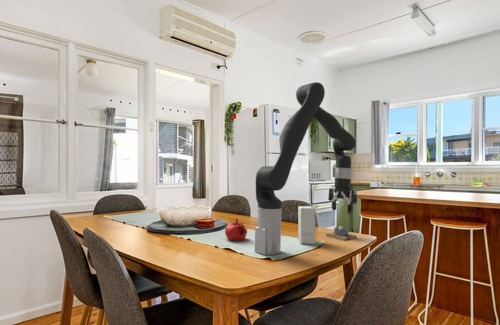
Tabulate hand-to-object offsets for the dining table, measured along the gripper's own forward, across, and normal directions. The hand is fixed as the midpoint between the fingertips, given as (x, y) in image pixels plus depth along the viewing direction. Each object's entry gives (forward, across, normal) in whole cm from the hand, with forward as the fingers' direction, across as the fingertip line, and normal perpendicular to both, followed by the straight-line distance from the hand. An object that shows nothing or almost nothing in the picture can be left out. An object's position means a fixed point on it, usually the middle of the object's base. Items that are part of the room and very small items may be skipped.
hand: (341, 211), depth 147 cm
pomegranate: (+13, -24, -45) cm, 52 cm away
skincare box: (+13, -3, -22) cm, 25 cm away
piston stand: (+12, 0, 0) cm, 12 cm away
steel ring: (+11, 0, 0) cm, 11 cm away
